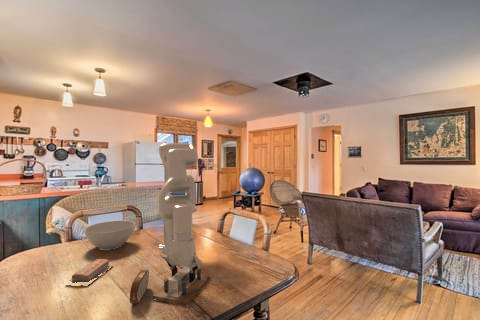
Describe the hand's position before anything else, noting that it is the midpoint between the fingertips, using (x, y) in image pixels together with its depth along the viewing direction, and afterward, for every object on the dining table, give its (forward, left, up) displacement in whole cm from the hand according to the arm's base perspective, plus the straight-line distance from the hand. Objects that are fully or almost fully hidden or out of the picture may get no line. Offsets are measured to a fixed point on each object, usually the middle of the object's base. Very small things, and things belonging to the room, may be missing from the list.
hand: (183, 279), depth 98 cm
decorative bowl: (-65, +29, -4) cm, 71 cm away
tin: (-13, -9, -4) cm, 16 cm away
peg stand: (0, 0, -3) cm, 3 cm away
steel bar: (0, 0, -2) cm, 2 cm away
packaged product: (-45, -2, -4) cm, 45 cm away
